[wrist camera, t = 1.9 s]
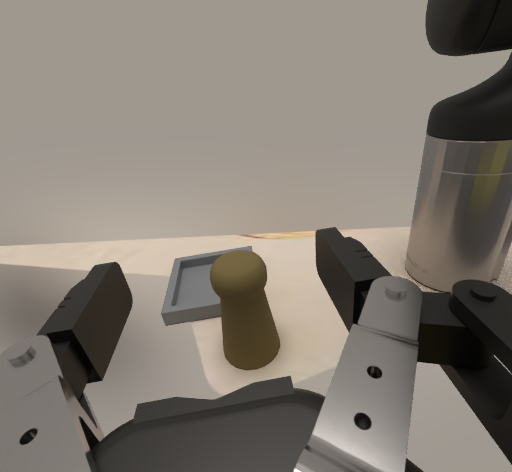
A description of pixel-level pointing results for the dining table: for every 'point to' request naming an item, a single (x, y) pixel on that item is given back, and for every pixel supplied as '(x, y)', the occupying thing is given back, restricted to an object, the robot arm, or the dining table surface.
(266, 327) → the cork
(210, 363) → the dining table surface
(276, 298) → the dining table surface
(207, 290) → the tray
